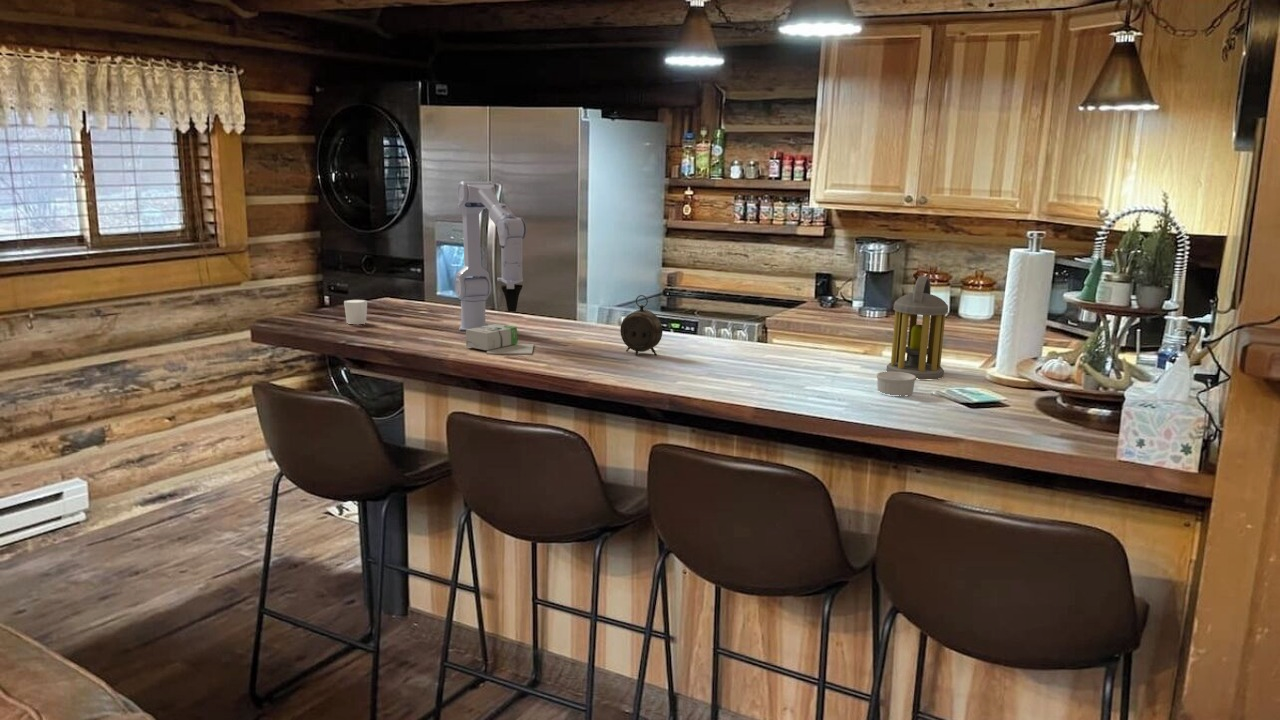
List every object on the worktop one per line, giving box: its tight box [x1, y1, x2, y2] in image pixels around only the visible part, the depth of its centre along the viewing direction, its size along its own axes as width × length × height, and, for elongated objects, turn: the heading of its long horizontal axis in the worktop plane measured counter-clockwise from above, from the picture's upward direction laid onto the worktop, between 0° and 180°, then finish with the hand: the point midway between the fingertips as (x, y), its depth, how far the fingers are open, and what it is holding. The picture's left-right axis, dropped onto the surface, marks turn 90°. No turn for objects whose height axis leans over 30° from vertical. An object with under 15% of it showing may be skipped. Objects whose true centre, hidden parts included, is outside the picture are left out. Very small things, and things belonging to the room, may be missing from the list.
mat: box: [486, 343, 535, 355], centre depth 259 cm, size 12×12×1 cm
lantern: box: [885, 275, 949, 380], centre depth 241 cm, size 14×14×25 cm
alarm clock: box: [620, 294, 663, 356], centre depth 256 cm, size 11×5×16 cm, turn 66°
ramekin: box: [876, 371, 917, 396], centre depth 223 cm, size 9×9×4 cm
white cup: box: [343, 299, 368, 325], centre depth 291 cm, size 7×7×7 cm
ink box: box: [465, 323, 518, 351], centre depth 261 cm, size 9×5×12 cm
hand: (512, 311), depth 264 cm, fingers closed
